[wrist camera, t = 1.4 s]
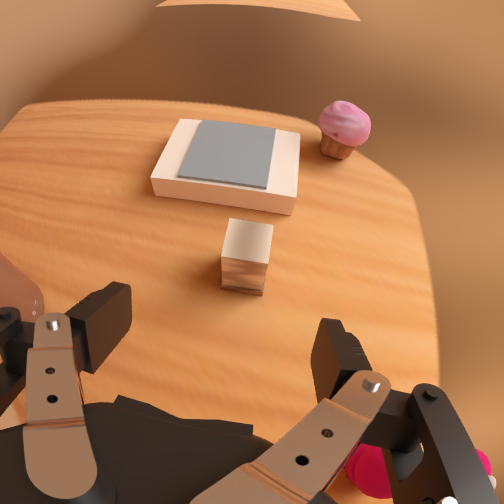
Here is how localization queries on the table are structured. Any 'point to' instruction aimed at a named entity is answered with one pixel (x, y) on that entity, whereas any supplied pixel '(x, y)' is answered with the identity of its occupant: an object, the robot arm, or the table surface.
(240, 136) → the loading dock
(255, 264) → the memo note cube
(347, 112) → the cupcake
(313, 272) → the table surface
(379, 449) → the pepper mill
